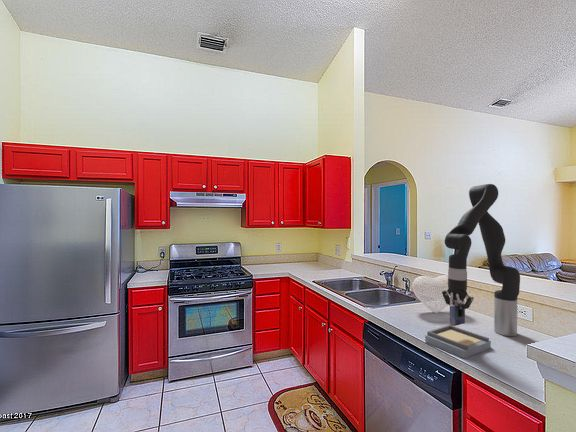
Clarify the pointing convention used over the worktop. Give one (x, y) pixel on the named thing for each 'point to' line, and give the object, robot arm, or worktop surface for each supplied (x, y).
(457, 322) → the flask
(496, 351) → the worktop surface
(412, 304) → the worktop surface
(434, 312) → the heart
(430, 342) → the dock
